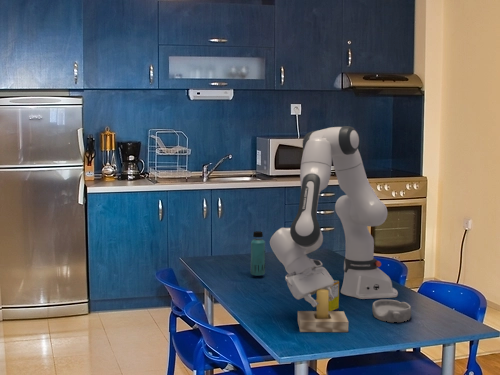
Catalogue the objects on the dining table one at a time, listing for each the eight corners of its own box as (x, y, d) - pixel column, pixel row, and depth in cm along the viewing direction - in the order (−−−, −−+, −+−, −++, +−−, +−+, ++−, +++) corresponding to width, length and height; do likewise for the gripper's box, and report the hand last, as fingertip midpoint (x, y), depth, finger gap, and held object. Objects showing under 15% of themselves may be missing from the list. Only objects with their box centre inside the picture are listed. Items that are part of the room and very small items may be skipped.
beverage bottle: (252, 279, 308) (252, 233, 306) (248, 275, 314) (248, 230, 312) (267, 278, 310) (267, 232, 307) (262, 274, 316) (263, 230, 314)
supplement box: (325, 306, 268) (325, 278, 266) (339, 310, 264) (339, 281, 263) (316, 310, 263) (316, 281, 262) (330, 313, 259) (330, 284, 258)
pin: (327, 323, 247) (327, 289, 245) (328, 326, 243) (329, 292, 241) (316, 323, 247) (316, 289, 245) (317, 327, 243) (317, 292, 241)
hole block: (343, 321, 251) (343, 311, 250) (348, 332, 239) (348, 321, 238) (297, 320, 251) (297, 311, 250) (300, 331, 239) (300, 321, 238)
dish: (401, 326, 246) (402, 312, 245) (365, 319, 254) (365, 305, 253) (418, 316, 258) (418, 302, 257) (382, 309, 266) (383, 296, 265)
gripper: (288, 270, 239) (312, 304, 234) (323, 259, 254) (346, 291, 249) (277, 281, 242) (300, 314, 237) (312, 270, 258) (334, 301, 253)
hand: (324, 302), depth 243 cm, fingers open, 8 cm apart
